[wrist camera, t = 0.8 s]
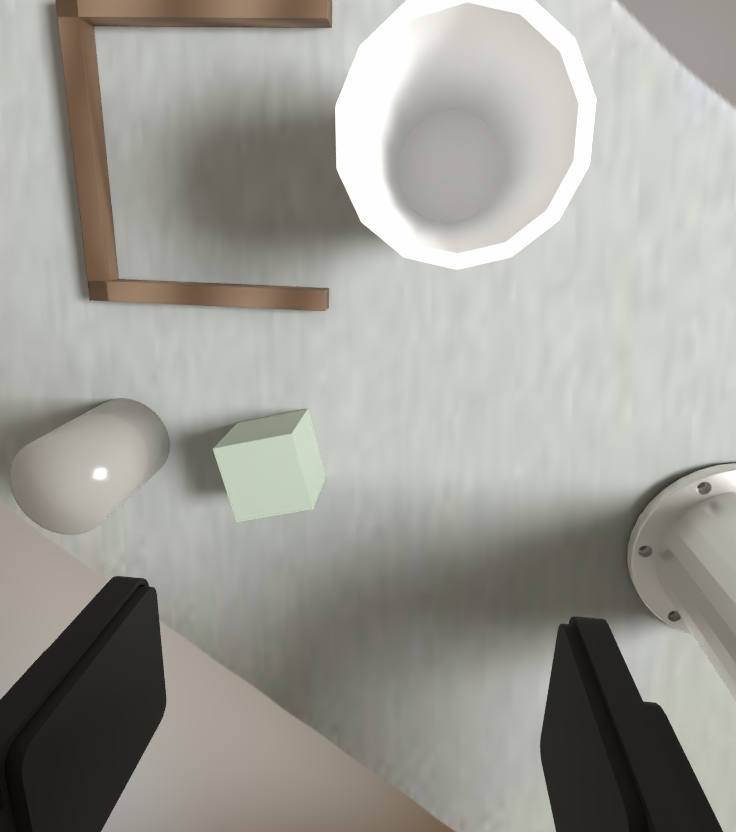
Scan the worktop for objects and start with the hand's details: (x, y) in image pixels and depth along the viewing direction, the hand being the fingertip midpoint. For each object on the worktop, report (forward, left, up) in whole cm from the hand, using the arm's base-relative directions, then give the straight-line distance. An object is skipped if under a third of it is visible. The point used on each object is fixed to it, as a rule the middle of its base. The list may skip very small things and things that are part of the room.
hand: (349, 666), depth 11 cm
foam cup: (-2, -11, -28) cm, 30 cm away
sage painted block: (+8, +7, -28) cm, 30 cm away
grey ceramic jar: (+19, +7, -28) cm, 34 cm away
